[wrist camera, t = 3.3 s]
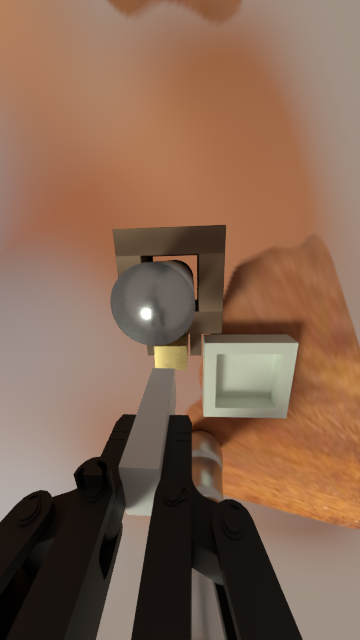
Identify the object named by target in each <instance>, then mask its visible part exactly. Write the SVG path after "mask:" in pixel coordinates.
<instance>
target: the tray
mask: <svg viewBox="0 0 360 640" xmlns="http://www.w3.org/2000/svg"><path fill="white" fill-rule="evenodd" d="M298 344H299V343H298V342H297V341H296V340H294V339H293V338H292V337H290V336H289V335H288V334H233V335H203V413H204V417H247V418H286V416H287V410H288V404H289V398H290V392H291V386H292V380H293V374H294V368H295V362H296V356H297V350H298Z"/></svg>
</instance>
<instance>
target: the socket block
mask: <svg viewBox="0 0 360 640" xmlns="http://www.w3.org/2000/svg"><path fill="white" fill-rule="evenodd" d="M113 237H114V245H115V254H116V263H117V271H118V278H119V276H120V275H121V274H122V273H123V272H124V271H126V270H127V269H128V268H130V267H132V266H134V265H137V264H140V263H145V262H153V256H181V255H182V256H183V255H197V300H195V314H194V318H193V321H192V323H191V325H190V327H189V328H188V330H187V331H186V332H185V333H184V334H190V351H191V352H190V353H191V355H201V334H202V333H206V334H209V333H222V314H223V289H224V263H225V237H226V225H213V226H187V227H160V228H135V229H113ZM147 348H148V355H155V353H154V346H153V345H147Z"/></svg>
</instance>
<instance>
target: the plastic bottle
mask: <svg viewBox="0 0 360 640" xmlns="http://www.w3.org/2000/svg"><path fill="white" fill-rule="evenodd" d="M222 468H223V454H222V450H221V447H220V444H219V442H218V440H217V439H216V438H215V437H214V436H213V435H212V434H210V433H208V432H205V431H194V432H192V480H193V483H194V485H195V487H196V488H197V490H198V491H199V492H200V493H201V494H202V495H203V496H205V497H207V498H209V499H211V500H213V501H215V502H217V503H219V502H221V501H223V500H224V499H223V482H222ZM192 640H225V638H224V633H223V628H222V624H221V619H220V614H219V610H218V605H217V600H216V596H215V591H214V586H213V581H212V580H211V579H209V578H207V577H206V576H204V575H203V574H201V573H199V572H198V571H196V570H195V569H193V568H192Z"/></svg>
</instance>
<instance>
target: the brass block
mask: <svg viewBox="0 0 360 640" xmlns="http://www.w3.org/2000/svg"><path fill="white" fill-rule="evenodd" d="M154 353H155V365H156V368H175V369H183V370H186V369H187V360H188V357H187V356H188V334H183V335H182V336H181V337H180V338H178V339H177V340H175V341H173V342H171V343H168V344H165V345H158V346H154Z"/></svg>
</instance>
